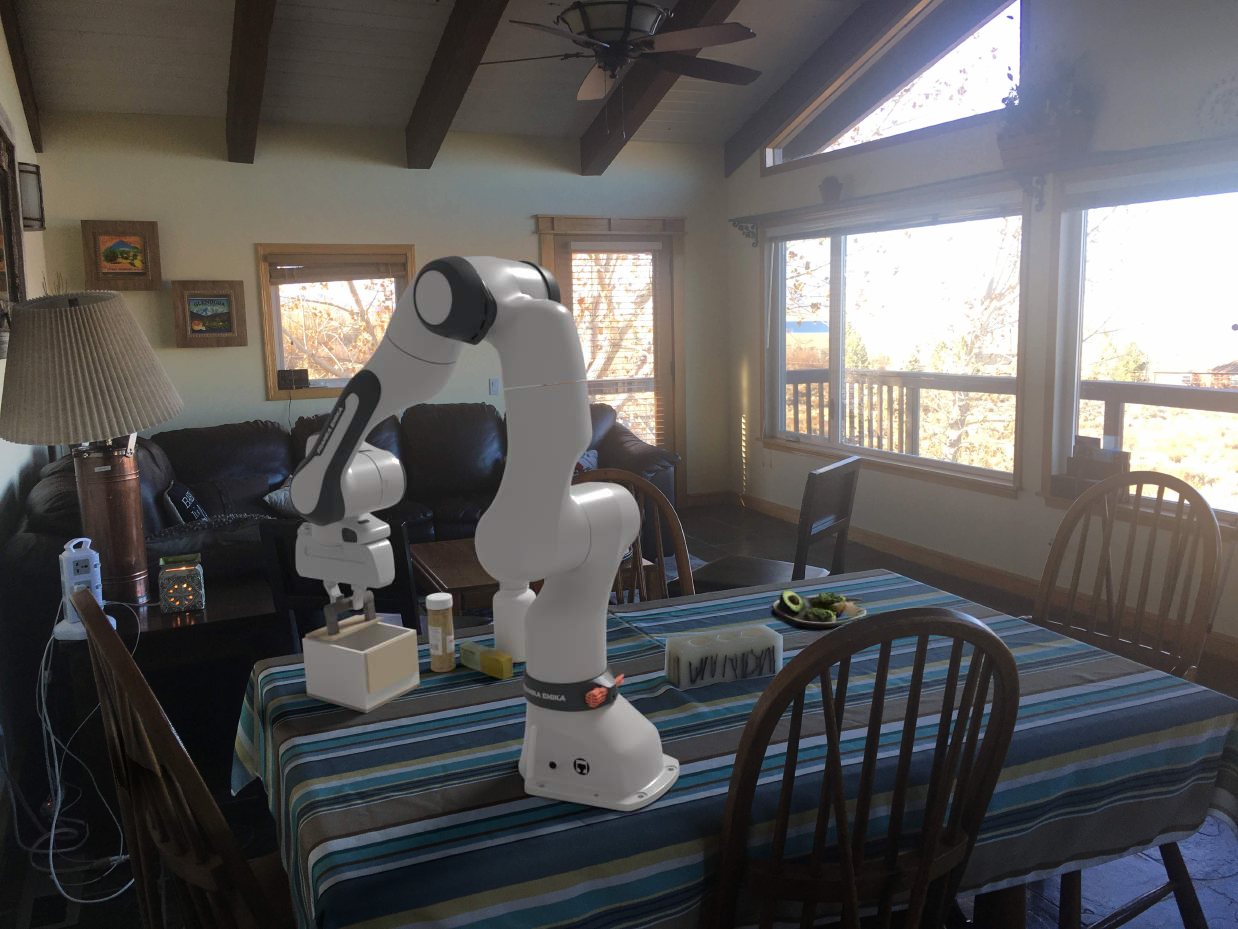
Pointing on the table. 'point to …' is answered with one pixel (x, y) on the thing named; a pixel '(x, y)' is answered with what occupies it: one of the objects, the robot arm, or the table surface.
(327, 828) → the table surface
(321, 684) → the carton
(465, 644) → the medication box
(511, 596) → the pill bottle
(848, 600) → the salad plate
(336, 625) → the flap
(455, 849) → the table surface
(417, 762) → the table surface
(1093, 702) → the table surface
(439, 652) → the sprinkles bottle
